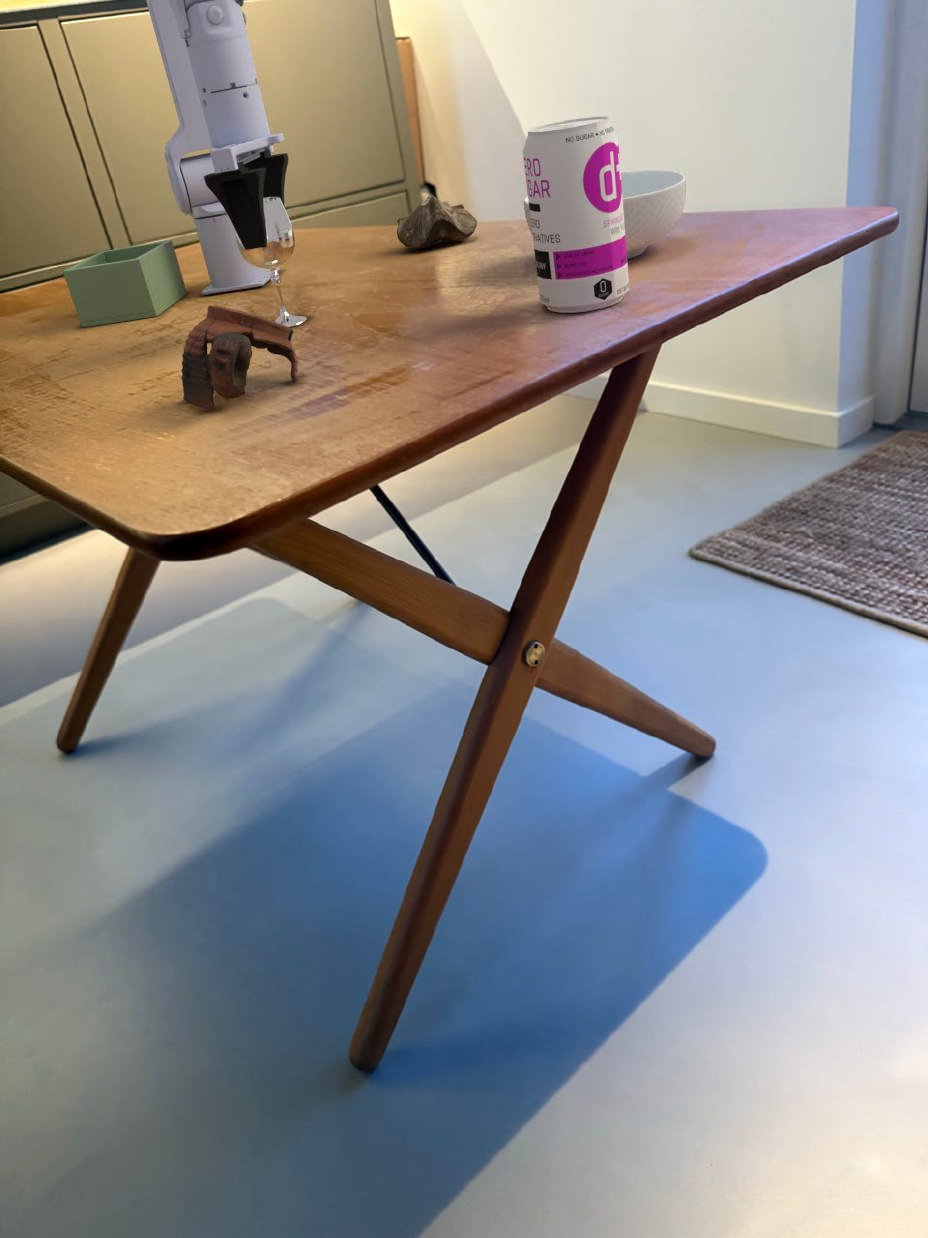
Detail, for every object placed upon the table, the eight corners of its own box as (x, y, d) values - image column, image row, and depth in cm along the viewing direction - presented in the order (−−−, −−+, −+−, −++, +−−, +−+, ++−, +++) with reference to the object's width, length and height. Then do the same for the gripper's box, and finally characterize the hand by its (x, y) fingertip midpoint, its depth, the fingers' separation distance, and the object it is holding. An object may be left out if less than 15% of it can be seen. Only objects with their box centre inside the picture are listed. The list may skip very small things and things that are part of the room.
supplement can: (647, 291, 93) (635, 111, 85) (593, 317, 88) (576, 129, 81) (577, 288, 98) (560, 119, 91) (523, 312, 93) (500, 135, 86)
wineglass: (302, 327, 102) (272, 202, 96) (250, 333, 104) (218, 210, 98) (320, 312, 107) (293, 192, 101) (270, 318, 108) (241, 200, 102)
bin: (117, 303, 131) (100, 251, 127) (187, 293, 129) (172, 239, 126) (81, 327, 121) (62, 271, 118) (156, 316, 119) (139, 259, 116)
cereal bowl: (501, 276, 108) (492, 206, 104) (577, 239, 119) (571, 175, 116) (646, 274, 99) (641, 197, 95) (713, 234, 110) (711, 164, 106)
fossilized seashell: (476, 212, 133) (405, 237, 135) (461, 171, 127) (387, 197, 129) (484, 251, 129) (411, 276, 131) (468, 210, 124) (392, 237, 126)
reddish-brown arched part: (179, 397, 89) (199, 303, 87) (286, 425, 91) (307, 333, 89) (162, 400, 77) (185, 291, 76) (285, 432, 79) (309, 326, 78)
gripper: (249, 86, 88) (287, 248, 94) (287, 77, 100) (318, 221, 107) (173, 100, 89) (216, 259, 95) (220, 90, 101) (255, 231, 108)
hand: (266, 240), depth 101 cm, fingers open, 7 cm apart
